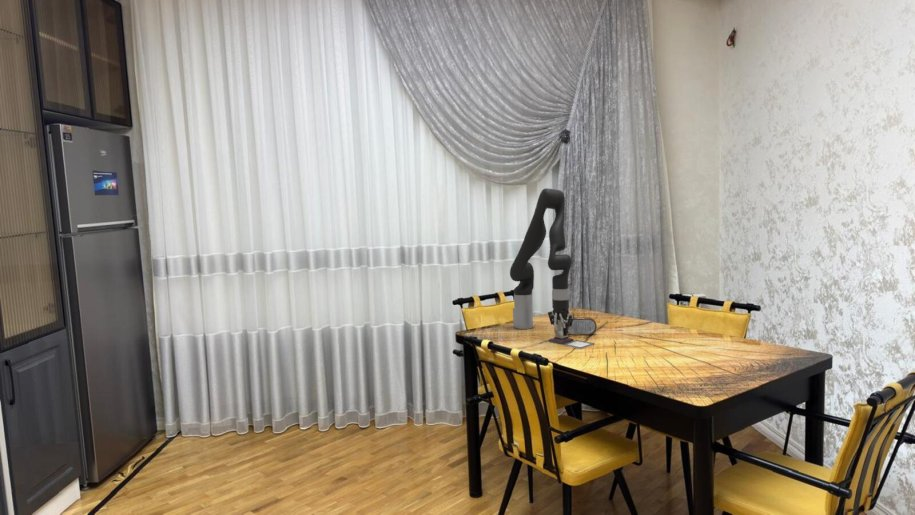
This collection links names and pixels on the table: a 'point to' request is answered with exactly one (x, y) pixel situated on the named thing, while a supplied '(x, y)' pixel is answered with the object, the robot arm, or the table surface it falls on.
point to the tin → (582, 326)
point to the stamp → (559, 331)
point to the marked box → (579, 344)
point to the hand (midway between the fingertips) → (561, 334)
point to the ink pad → (561, 340)
